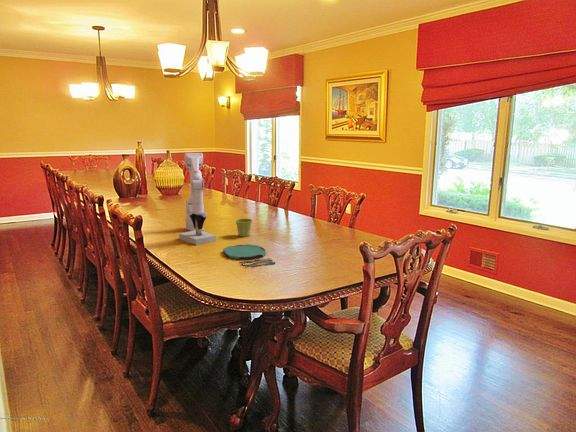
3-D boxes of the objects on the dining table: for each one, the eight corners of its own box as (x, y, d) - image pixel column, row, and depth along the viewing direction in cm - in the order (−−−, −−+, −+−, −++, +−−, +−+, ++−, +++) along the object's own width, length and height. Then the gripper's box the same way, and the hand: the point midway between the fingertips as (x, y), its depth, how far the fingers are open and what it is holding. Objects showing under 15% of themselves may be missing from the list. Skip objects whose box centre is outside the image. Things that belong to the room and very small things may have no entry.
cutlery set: (257, 246, 214) (257, 242, 213) (280, 265, 187) (280, 260, 187) (218, 250, 206) (218, 246, 206) (236, 271, 179) (236, 266, 179)
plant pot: (236, 238, 228) (236, 222, 226) (234, 234, 237) (234, 218, 235) (253, 237, 231) (254, 221, 229) (250, 233, 239) (250, 218, 238)
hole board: (179, 239, 224) (179, 233, 224) (198, 235, 233) (198, 229, 232) (196, 245, 213) (196, 239, 213) (216, 241, 222) (215, 235, 221)
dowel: (194, 234, 222) (194, 219, 220) (199, 233, 224) (198, 218, 222) (198, 235, 220) (198, 220, 218) (202, 234, 222) (202, 219, 220)
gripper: (183, 201, 220) (183, 227, 223) (199, 205, 211) (199, 232, 213) (194, 200, 225) (195, 225, 228) (210, 204, 215) (211, 230, 218)
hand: (198, 228), depth 221 cm, fingers closed on dowel, 3 cm apart
